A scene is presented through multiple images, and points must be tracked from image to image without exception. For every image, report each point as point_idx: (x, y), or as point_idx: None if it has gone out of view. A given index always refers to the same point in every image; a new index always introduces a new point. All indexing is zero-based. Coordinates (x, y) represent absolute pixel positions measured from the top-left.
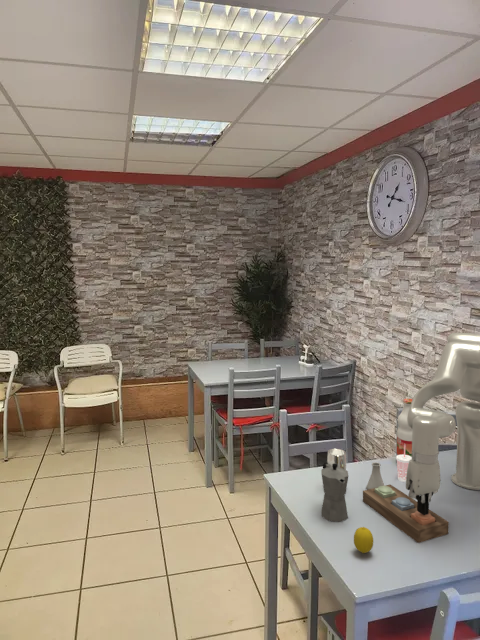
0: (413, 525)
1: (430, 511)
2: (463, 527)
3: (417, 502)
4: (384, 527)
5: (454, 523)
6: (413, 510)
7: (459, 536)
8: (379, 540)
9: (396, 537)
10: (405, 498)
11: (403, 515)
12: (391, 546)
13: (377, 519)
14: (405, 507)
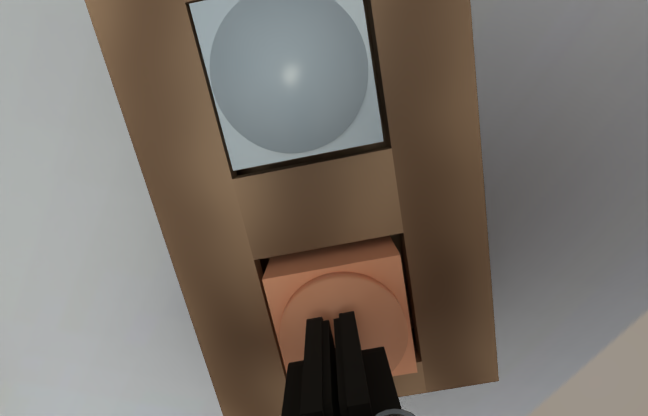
0: (224, 370)
1: (470, 234)
2: (599, 287)
3: (303, 376)
4: (116, 187)
5: (583, 239)
6: (339, 188)
7: (504, 353)
8: (41, 300)
9: (151, 295)
10: (343, 30)
11: (214, 240)
12: (91, 358)
13: (101, 81)
14: (274, 160)
